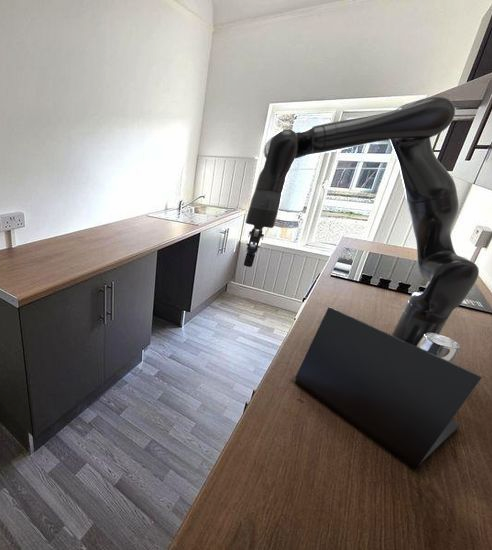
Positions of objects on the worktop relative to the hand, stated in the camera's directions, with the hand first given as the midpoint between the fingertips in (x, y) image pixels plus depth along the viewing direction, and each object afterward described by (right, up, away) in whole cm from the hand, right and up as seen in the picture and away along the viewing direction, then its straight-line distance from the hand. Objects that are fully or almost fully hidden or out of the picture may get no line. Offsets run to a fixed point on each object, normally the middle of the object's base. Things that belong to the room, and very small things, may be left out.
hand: (248, 265), depth 86 cm
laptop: (+25, -35, -12) cm, 45 cm away
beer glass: (+44, -33, -5) cm, 55 cm away
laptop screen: (+18, -25, -21) cm, 38 cm away
